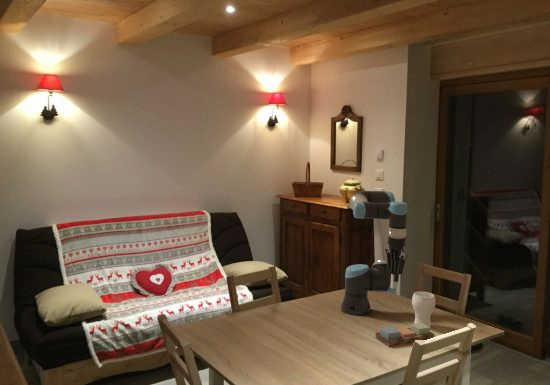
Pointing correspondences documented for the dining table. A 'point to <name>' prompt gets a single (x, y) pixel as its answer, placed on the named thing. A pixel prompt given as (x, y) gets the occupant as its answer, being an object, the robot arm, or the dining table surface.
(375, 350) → the dining table surface
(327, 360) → the dining table surface
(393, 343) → the button board
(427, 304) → the cup
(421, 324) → the cap sage
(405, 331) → the cap terracotta
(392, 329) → the cap slate
